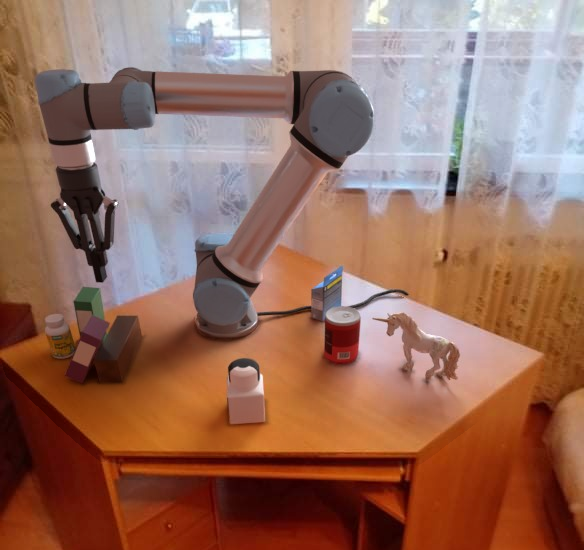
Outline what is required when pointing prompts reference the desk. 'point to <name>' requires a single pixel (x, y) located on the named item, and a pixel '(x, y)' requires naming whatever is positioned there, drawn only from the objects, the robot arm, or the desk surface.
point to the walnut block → (118, 349)
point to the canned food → (342, 334)
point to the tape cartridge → (326, 295)
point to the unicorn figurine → (424, 345)
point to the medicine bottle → (245, 392)
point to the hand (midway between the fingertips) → (101, 279)
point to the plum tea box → (87, 349)
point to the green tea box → (88, 307)
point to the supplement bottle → (59, 336)
